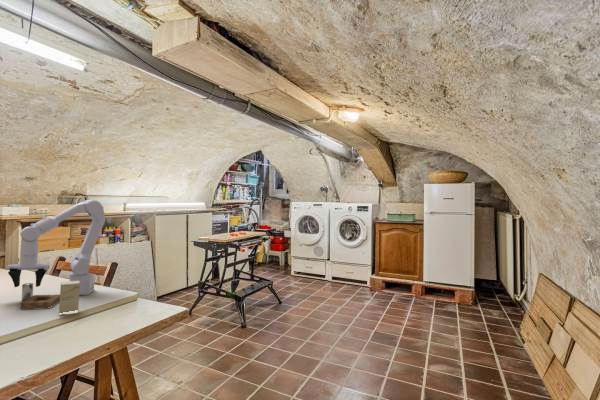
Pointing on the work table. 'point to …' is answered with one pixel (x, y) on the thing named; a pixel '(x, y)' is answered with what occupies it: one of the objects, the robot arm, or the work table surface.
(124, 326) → the work table surface
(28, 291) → the pin
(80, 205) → the robot arm
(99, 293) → the work table surface
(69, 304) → the skincare box
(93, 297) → the work table surface
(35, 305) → the socket block
